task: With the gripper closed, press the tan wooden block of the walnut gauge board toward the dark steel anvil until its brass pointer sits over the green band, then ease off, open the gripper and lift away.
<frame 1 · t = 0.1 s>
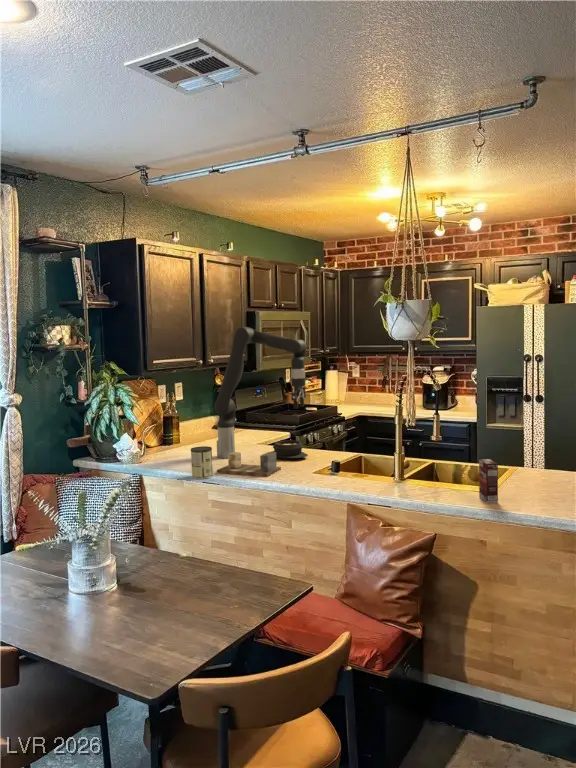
hand: (298, 407, 328), 29 cm above the table, tool pointing down, fingers open, 8 cm apart
tan wooden block: (232, 461, 311), point 5 cm above the table, slide at 0.0 cm
supplement box: (488, 500, 247), on the table
casserole: (288, 457, 343), on the table
coffee can: (202, 477, 301), on the table
gauge board: (249, 471, 310), on the table
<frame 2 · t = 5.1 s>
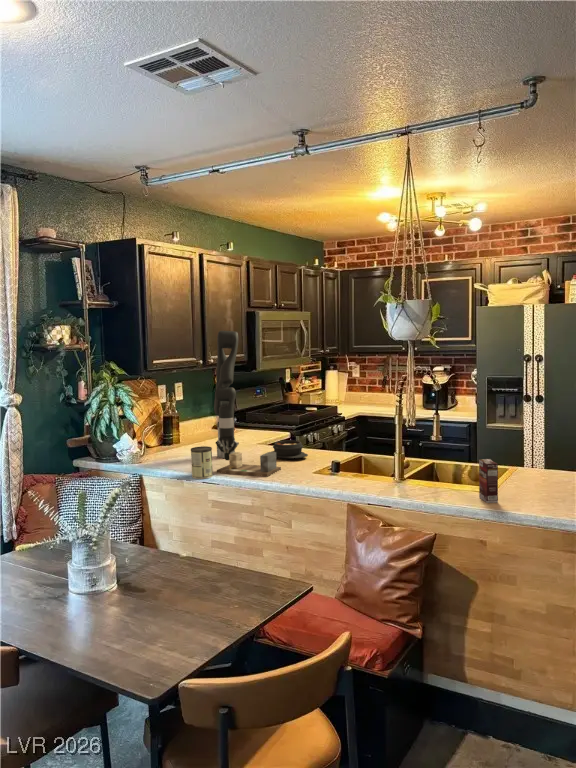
hand: (227, 460, 314), 5 cm above the table, tool pointing down, fingers closed
tan wooden block: (233, 461, 311), point 5 cm above the table, slide at 0.6 cm, touching gripper
everything else where it was.
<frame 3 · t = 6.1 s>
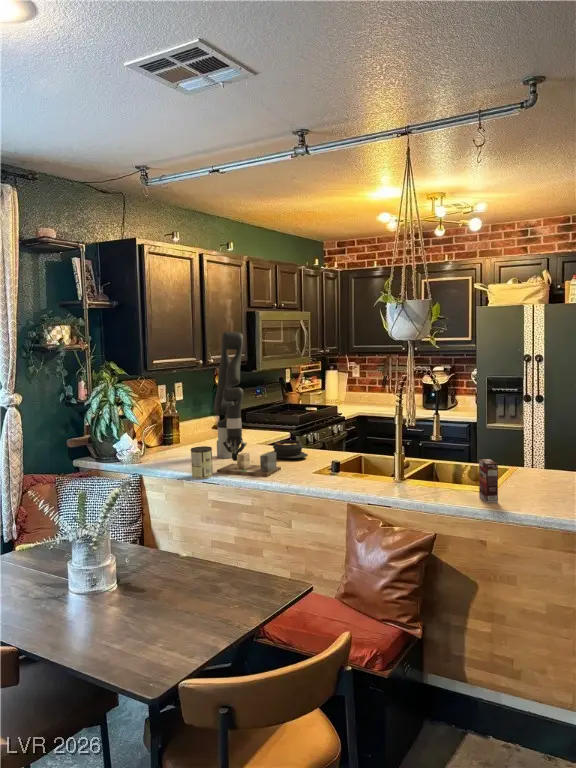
hand: (235, 460, 312), 5 cm above the table, tool pointing down, fingers closed
tan wooden block: (241, 461, 309), point 5 cm above the table, slide at 5.0 cm, touching gripper
everything else where it was.
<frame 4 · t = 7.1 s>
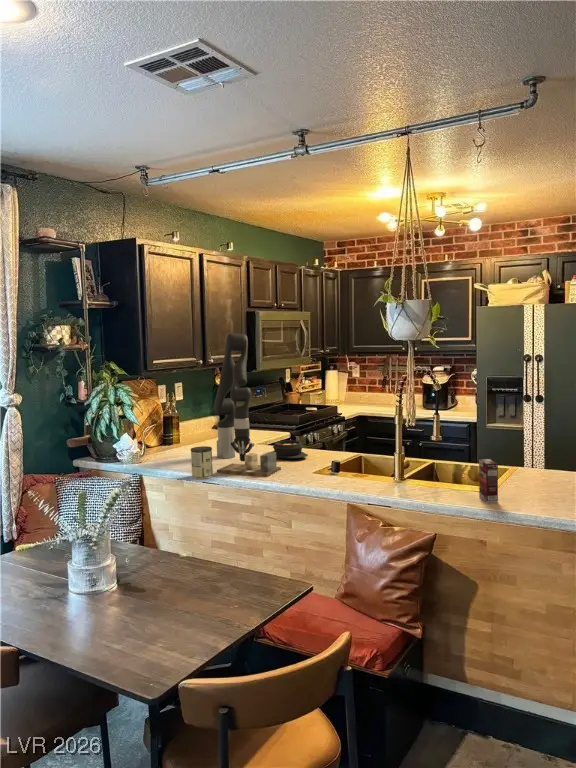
hand: (242, 461, 311), 5 cm above the table, tool pointing down, fingers closed
tan wooden block: (249, 462, 307), point 5 cm above the table, slide at 9.4 cm, touching gripper
everything else where it was.
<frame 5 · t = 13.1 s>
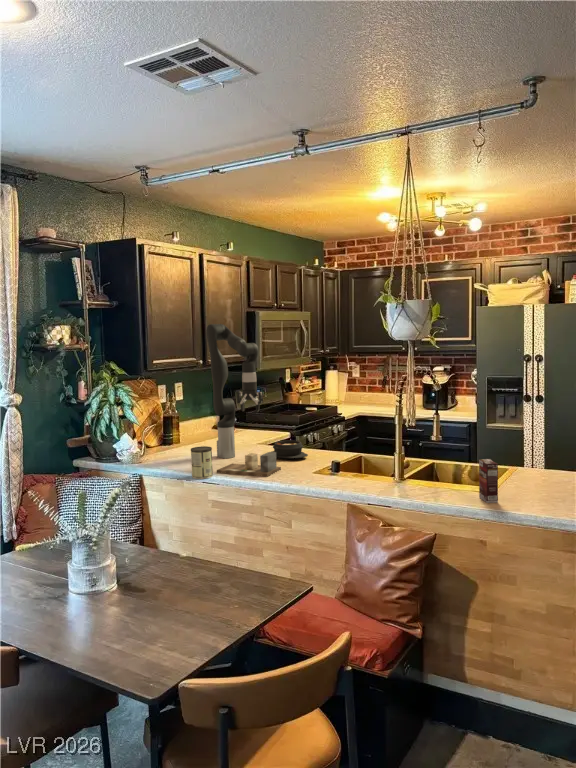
hand: (250, 411, 326), 28 cm above the table, tool pointing down, fingers open, 8 cm apart
tan wooden block: (249, 462, 307), point 5 cm above the table, slide at 9.5 cm
everything else where it was.
at the end: tan wooden block slide at 9.5 cm; tan wooden block touching nothing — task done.
